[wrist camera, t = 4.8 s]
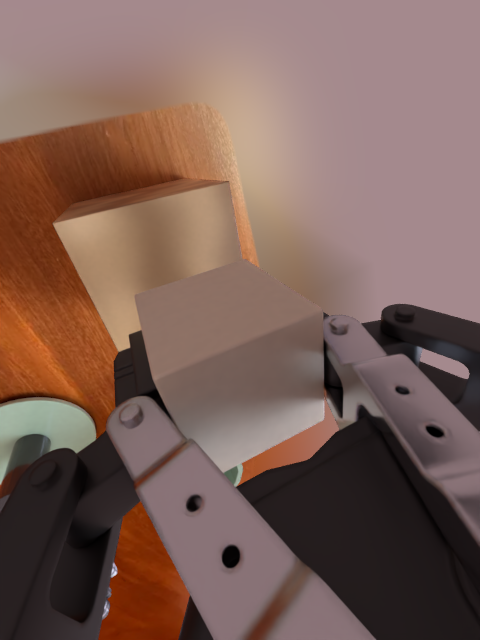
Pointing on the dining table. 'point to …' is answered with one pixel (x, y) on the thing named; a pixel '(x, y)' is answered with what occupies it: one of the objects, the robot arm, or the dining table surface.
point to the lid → (38, 434)
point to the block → (235, 359)
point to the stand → (147, 243)
